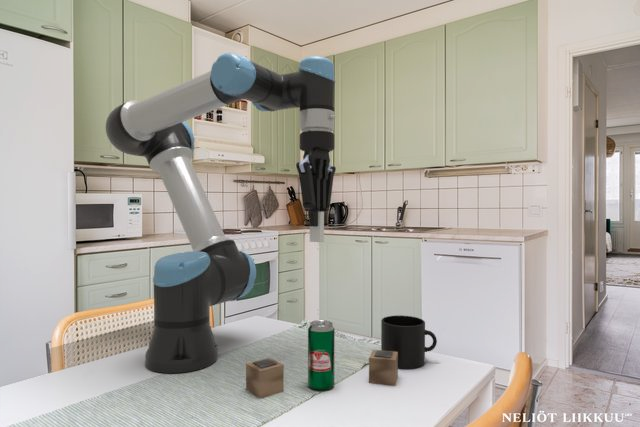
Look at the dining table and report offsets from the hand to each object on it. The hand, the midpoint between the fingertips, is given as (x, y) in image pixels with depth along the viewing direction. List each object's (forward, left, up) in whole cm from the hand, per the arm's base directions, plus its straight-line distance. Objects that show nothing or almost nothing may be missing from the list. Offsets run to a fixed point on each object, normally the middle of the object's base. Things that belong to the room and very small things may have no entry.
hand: (316, 241), depth 95 cm
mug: (+17, +11, -27) cm, 33 cm away
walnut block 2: (+16, -1, -27) cm, 31 cm away
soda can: (+7, -10, -27) cm, 29 cm away
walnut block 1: (-1, -17, -27) cm, 32 cm away
